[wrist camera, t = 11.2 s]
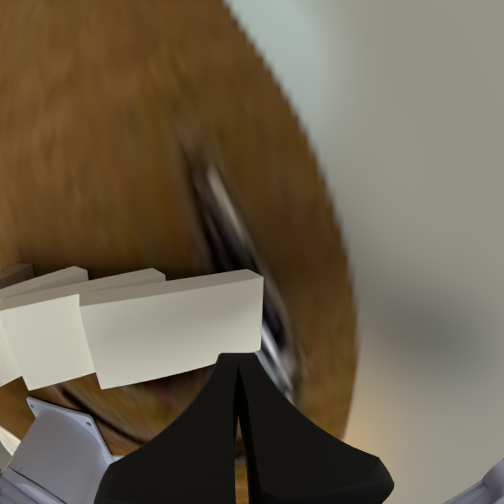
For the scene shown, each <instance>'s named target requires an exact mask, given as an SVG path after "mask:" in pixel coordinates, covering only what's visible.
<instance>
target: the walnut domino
mask: <svg viewBox="0 0 504 504" xmlns="http://www.w3.org/2000/svg"><path fill="white" fill-rule="evenodd" d="M33 278H35V276H34V270H33V264H26V263H18V264H15V265H13V266H11V267H9V268H7V269H4V270H2V271H0V289H3V288H6V287H9V286H12V285H15V284H18V283H21V282H24V281H27V280H30V279H33Z"/></svg>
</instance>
